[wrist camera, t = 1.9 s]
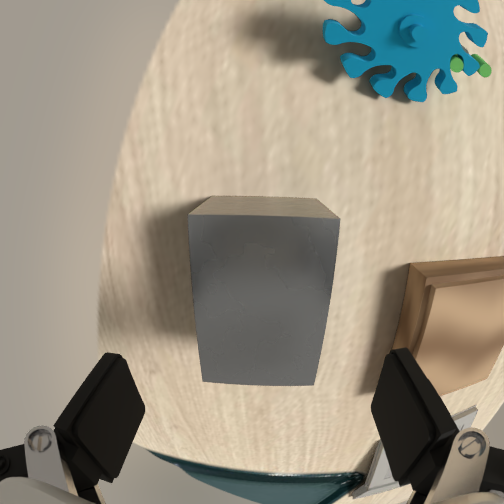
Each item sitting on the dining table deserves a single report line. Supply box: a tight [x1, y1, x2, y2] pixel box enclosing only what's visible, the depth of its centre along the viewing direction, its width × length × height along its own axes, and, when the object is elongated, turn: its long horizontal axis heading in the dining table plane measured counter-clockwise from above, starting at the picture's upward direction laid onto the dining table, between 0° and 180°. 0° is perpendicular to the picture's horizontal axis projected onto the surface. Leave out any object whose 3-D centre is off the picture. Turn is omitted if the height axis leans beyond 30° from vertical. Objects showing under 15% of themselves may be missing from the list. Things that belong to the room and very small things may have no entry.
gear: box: [323, 0, 491, 102], centre depth 9 cm, size 11×6×10 cm
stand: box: [392, 256, 504, 396], centre depth 17 cm, size 12×12×3 cm
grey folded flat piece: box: [352, 405, 478, 499], centre depth 25 cm, size 23×15×4 cm, turn 7°
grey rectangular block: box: [188, 196, 340, 386], centre depth 15 cm, size 9×6×6 cm, turn 179°
